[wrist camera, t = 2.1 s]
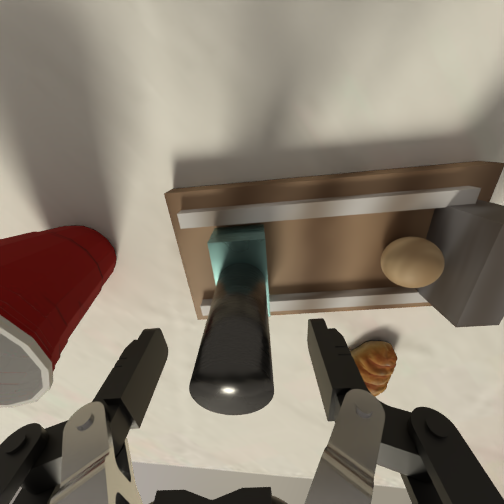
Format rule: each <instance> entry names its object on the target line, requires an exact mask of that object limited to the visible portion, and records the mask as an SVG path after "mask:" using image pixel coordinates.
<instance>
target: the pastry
mask: <svg viewBox="0 0 504 504" xmlns="http://www.w3.org/2000/svg"><path fill="white" fill-rule="evenodd" d="M350 352H351V356H352V357H353V359H354V361H355V363H356V365H357V367H358V369H359V372H360V374H361V376H362V378H363V380H364V382H365V384H366V386H367V388H368V390H369V391H370V393H371V394H372V395H373V396H377V395H379V394H380V393H382V392H383V391H384V390H385V389H386V387H387V383H388V381H389V379H390V377H391V374H392V373H393V371H394V368H395V366H396V361H397V356H396V354H395V352H394V350H393V348H392V345H391V344H390V343H387V342H383V341H368V342H365V343H363V344H362V345H361V346H359V347H357V348H355V349H353V350H351V351H350Z"/></svg>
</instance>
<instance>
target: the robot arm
mask: <svg viewBox="0 0 504 504" xmlns="http://www.w3.org/2000/svg"><path fill="white" fill-rule="evenodd" d="M307 342H308V349H309V353H310V357H311V361H312V365H313V368H314V372H315V376H316V379H317V383H318V387H319V390H320V394H321V398H322V402H323V405H324V409H325V413H326V416H327V420H328V421H335V426H334V428H333V431H332V434H331V437H330V440H329V442H328V445H327V447H326V448H325V450H324V452H323V454H322V457H321V460H320V462H319V465H318V468H317V471H316V473H315V476H314V479H313V482H312V484H311V487H310V490H309V493H308V496H307V498H306V501H305V504H371V500H372V494H373V487H374V482H373V481H374V474H375V469H376V464H377V465H380V466H383V467H385V468H388V469H391V470H394V471H396V472H399V473H400V474H401V477H402V479H403V482H404V484H405V487H406V489H407V492H408V494H409V497H410V499H411V501H412V504H504V499H503V498H502V496H501V495H500V493H499V492H498V490H497V489H496V487H495V486H494V484H493V483H492V481H491V480H490V478H489V477H488V475H487V474H486V472H485V471H484V469H483V467H482V466H481V464H480V463H479V461H478V460H477V458H476V457H475V455H474V454H473V452H472V451H471V449H470V448H469V446H468V445H467V443H466V442H465V440H464V439H463V437H462V436H461V434H460V433H459V431H458V430H457V428H456V427H455V426H454V424H453V423H452V422H451V421H450V420H449V419H448V418H446V417H445V416H444V415H443V414H441V413H439V412H438V411H436V410H434V409H431V408H427V407H418V408H416V409H414V410H413V411H412V413H411V412H408V411H404V410H401V409H397V408H394V407H391V406H388V405H386V404H384V403H382V402H380V401H379V400H378V399H377V398H376V397H375V396H373V395H372V394H371V393H370V391H369V390H368V388H367V386H366V384H365V382H364V380H363V378H362V376H361V374H360V372H359V369H358V367H357V365H356V363H355V361H354V359H353V357H352V356H351V352H350V350H349V348H348V347H347V344H346V342H345V339H344V337H343V336H342V335H341V334H340V333H339V332H338V331H337V330H336V329H335V328H332V329H328V328H327V326H326V323H325V321H324V319H323V318H322V319H309V320H308V337H307ZM167 357H168V347H167V344H166V341H165V339H164V336H163V334H162V331H161V329H160V328H153V329H144V330H143V331H142V333H141V335H140V336H139V338H138V340H133V341H132V342H131V343H130V344H129V345H128V346H127V347H126V348H125V350H124V351H123V353H122V354H121V356H120V358H119V360H118V361H117V362H116V364H115V366H114V368H113V369H112V371H111V372H110V374H109V375H108V377H107V379H106V380H105V382H104V383H103V385H102V387H101V388H100V390H99V392H98V393H97V395H96V396H95V398H94V400H93V401H92V402H91V403H88V404H86V405H84V406H83V407H81V408H80V409H79V410H77V411H76V412H75V413H74V414H73V415H72V416H71V417H70V419H69V420H67V421H65V422H62V423H59V424H57V425H54V426H51V427H49V428H46V429H44V428H43V427H42V426H41V425H39V424H37V423H32V424H28V425H26V426H23V427H22V428H20V429H18V430H17V431H15V432H14V433H12V434H11V435H10V436H9V437H8V438H7V439H6V440H5V441H4V442H3V443H2V444H1V445H0V504H9V503H10V501H11V500H12V498H13V497H14V495H15V493H16V492H17V490H18V489H19V487H20V486H21V487H22V489H21V491H20V493H19V494H18V496H17V497H16V499H15V501H14V502H13V504H143V503H142V500H141V497H140V494H139V492H138V490H137V487H136V483H135V478H134V472H133V467H132V462H131V456H130V451H129V445H128V440H127V438H126V437H127V434H128V432H129V430H130V429H137V428H140V426H141V423H142V421H143V418H144V416H145V413H146V411H147V408H148V406H149V403H150V401H151V398H152V396H153V393H154V390H155V388H156V385H157V383H158V380H159V378H160V375H161V373H162V370H163V368H164V365H165V363H166V360H167ZM150 504H287V503H286V502H284V501H283V500H281V499H279V498H277V497H275V496H272V493H271V487H257V488H241V489H239V490H237V491H234V492H232V493H229V494H226V495H224V496H222V497H219V498H217V499H214V500H209V499H207V498H204V497H202V496H199V495H196V494H194V493H191V492H189V491H186V490H163V491H157V493H156V496H155V500H154V501H153V502H151V503H150Z"/></svg>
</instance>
